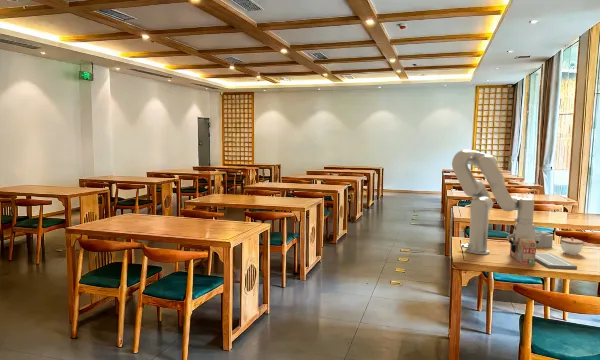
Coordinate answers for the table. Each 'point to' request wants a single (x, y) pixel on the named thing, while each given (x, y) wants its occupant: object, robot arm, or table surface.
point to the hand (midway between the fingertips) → (522, 252)
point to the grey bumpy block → (544, 239)
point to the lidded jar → (571, 246)
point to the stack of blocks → (525, 251)
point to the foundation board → (553, 261)
